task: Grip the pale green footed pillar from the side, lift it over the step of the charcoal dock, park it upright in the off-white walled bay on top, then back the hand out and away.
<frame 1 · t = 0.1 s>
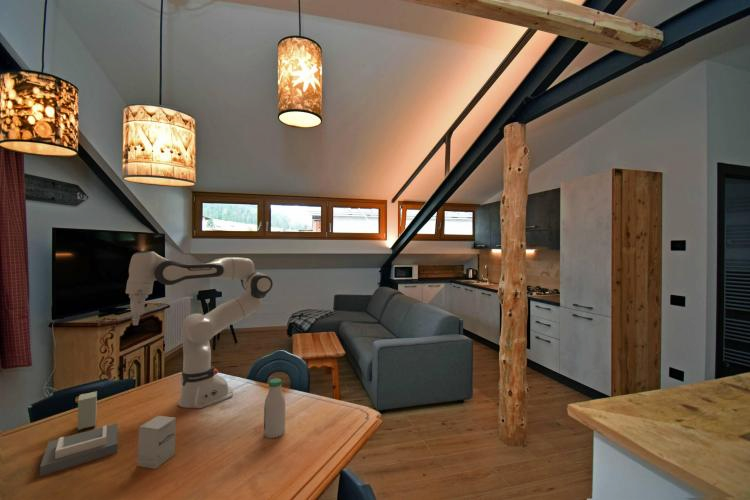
hand: (134, 322, 127), 39 cm above the table, tool pointing down, fingers open, 8 cm apart
pale green footed pillar: (87, 426, 119), on the table
dock: (82, 451, 105), on the table
supplement box: (156, 460, 101), on the table
milk bottle: (274, 433, 117), on the table
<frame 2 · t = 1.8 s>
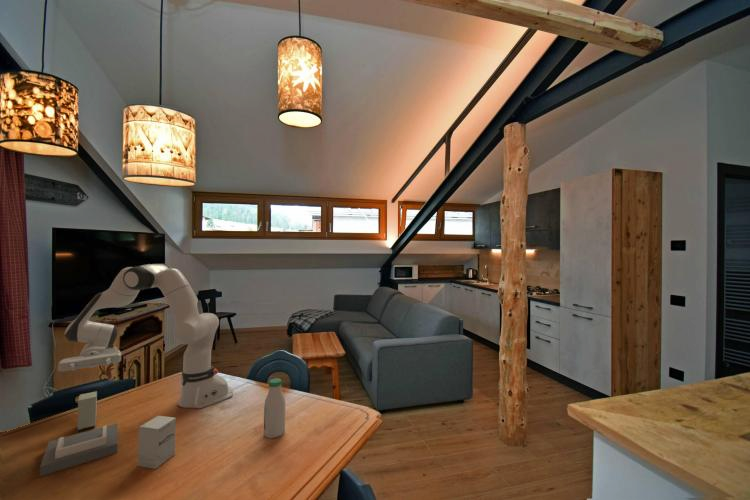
hand: (90, 366, 129), 20 cm above the table, tool horizontal, fingers open, 8 cm apart
nothing on the table moved.
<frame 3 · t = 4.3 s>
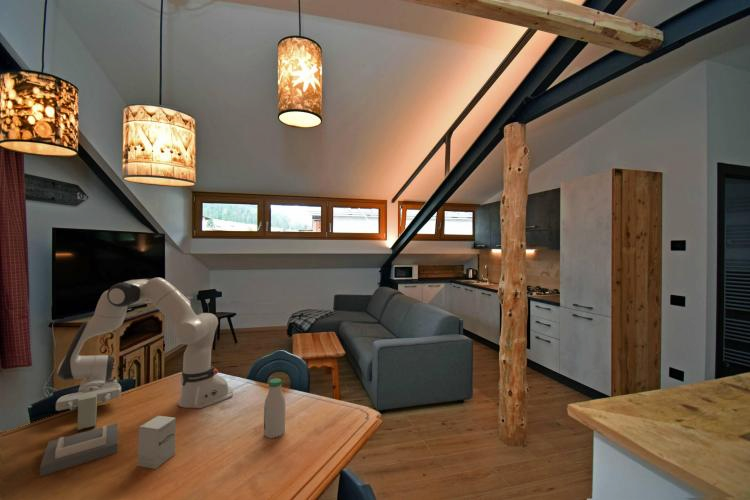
hand: (89, 404, 124), 6 cm above the table, tool horizontal, fingers open, 8 cm apart
nothing on the table moved.
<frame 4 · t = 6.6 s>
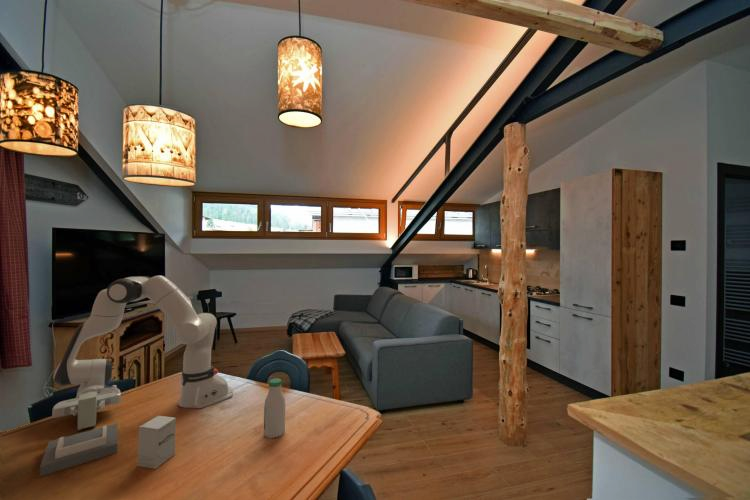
hand: (87, 410, 119), 7 cm above the table, tool horizontal, fingers closed on pale green footed pillar, 5 cm apart
pale green footed pillar: (87, 426, 119), on the table, touching gripper
everything else where it was.
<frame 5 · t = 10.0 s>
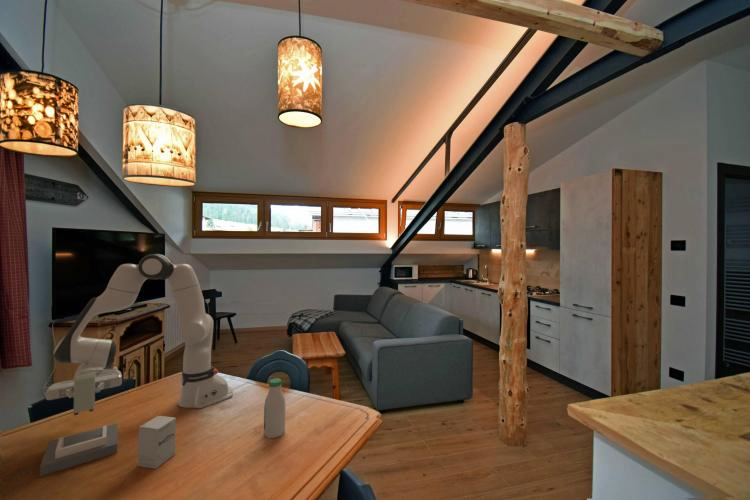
hand: (84, 392, 107), 19 cm above the table, tool horizontal, fingers closed on pale green footed pillar, 5 cm apart
pale green footed pillar: (84, 410, 108), point 12 cm above the table, touching gripper
everything else where it was.
when the fingers open (11 cm above the table, at t = 13.3 s): pale green footed pillar drops 1 cm, resting on dock.
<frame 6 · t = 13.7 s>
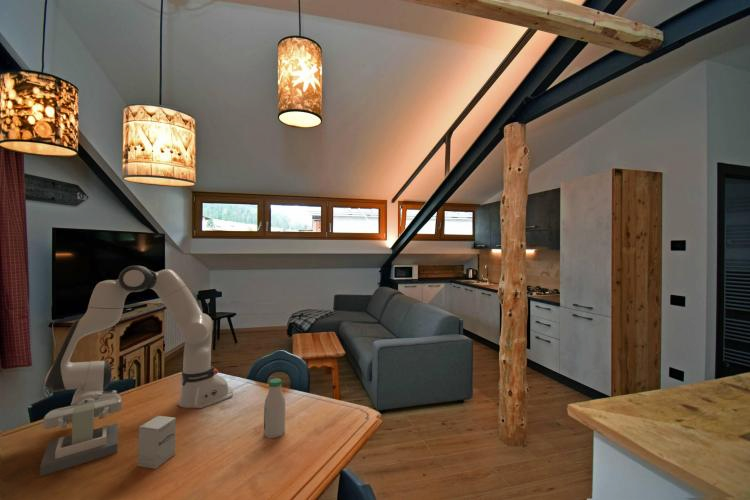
hand: (83, 420, 104), 11 cm above the table, tool horizontal, fingers open, 8 cm apart
pale green footed pillar: (82, 443, 104), point 3 cm above the table, touching dock
everything else where it was.
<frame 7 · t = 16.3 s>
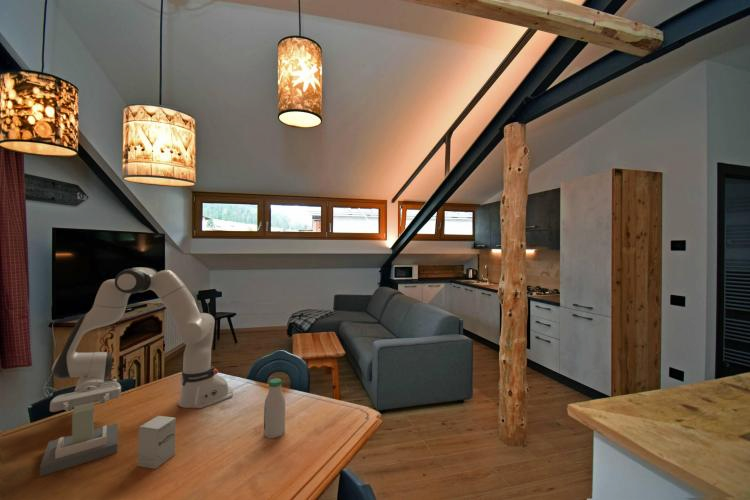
hand: (86, 404, 114), 11 cm above the table, tool horizontal, fingers open, 8 cm apart
nothing on the table moved.
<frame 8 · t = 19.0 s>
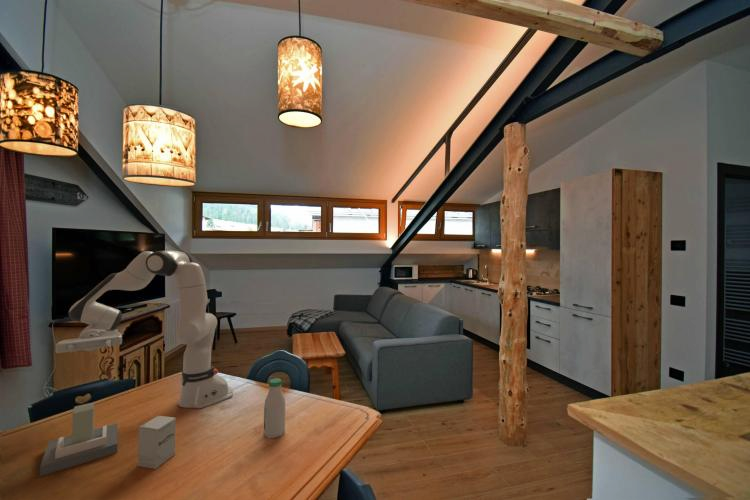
hand: (89, 347, 122), 30 cm above the table, tool horizontal, fingers open, 8 cm apart
nothing on the table moved.
at the end: pale green footed pillar inside the target area (0.0 cm from its centre), point 3.0 cm above the table; pale green footed pillar tilted 0°; the gripper is holding nothing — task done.
